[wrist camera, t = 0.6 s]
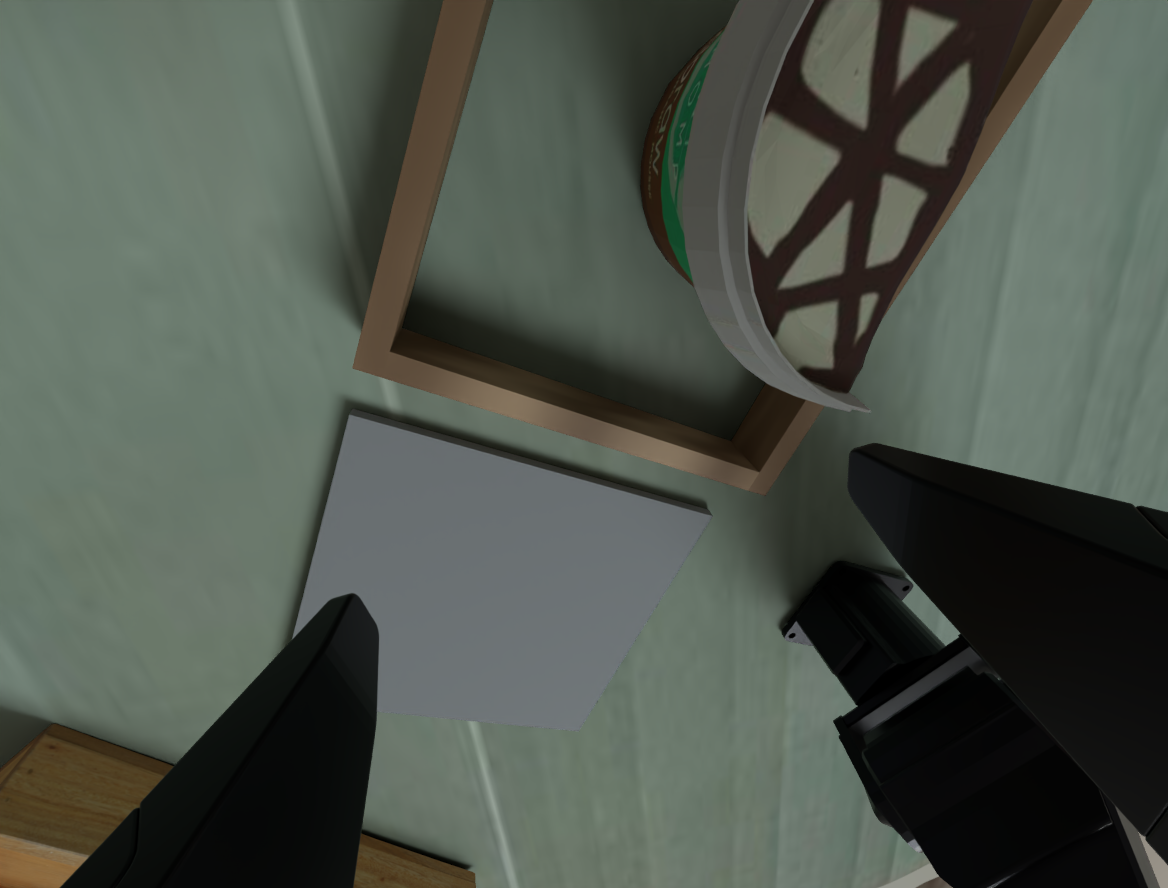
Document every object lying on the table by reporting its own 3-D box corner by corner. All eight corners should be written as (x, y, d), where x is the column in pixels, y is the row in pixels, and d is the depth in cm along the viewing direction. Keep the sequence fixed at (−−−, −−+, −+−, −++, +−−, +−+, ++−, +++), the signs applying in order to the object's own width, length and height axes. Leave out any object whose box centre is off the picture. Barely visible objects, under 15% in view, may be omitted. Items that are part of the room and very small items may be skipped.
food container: (661, -101, 15) (895, -458, 7) (831, -31, 17) (1203, -246, 8) (577, 305, 21) (647, 402, 12) (713, 329, 22) (861, 431, 13)
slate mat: (708, 509, 27) (712, 516, 26) (577, 722, 34) (578, 731, 33) (352, 408, 21) (349, 414, 20) (280, 691, 28) (275, 701, 27)
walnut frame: (1058, -60, 18) (1158, -100, 15) (736, 463, 26) (765, 496, 23) (594, -534, 12) (626, -737, 9) (369, 342, 20) (352, 368, 17)
